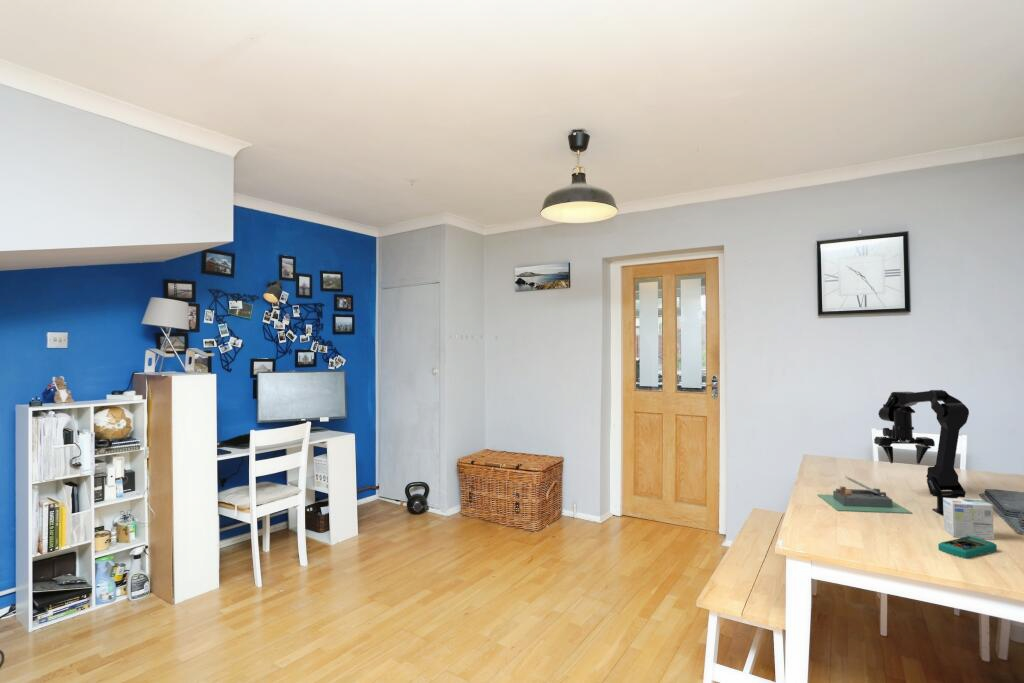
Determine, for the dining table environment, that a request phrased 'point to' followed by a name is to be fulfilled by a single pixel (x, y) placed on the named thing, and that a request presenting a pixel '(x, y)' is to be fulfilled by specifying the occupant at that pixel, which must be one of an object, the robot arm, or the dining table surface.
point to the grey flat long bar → (862, 485)
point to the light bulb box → (968, 518)
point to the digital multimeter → (967, 547)
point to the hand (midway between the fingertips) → (904, 463)
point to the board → (840, 507)
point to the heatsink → (862, 498)
